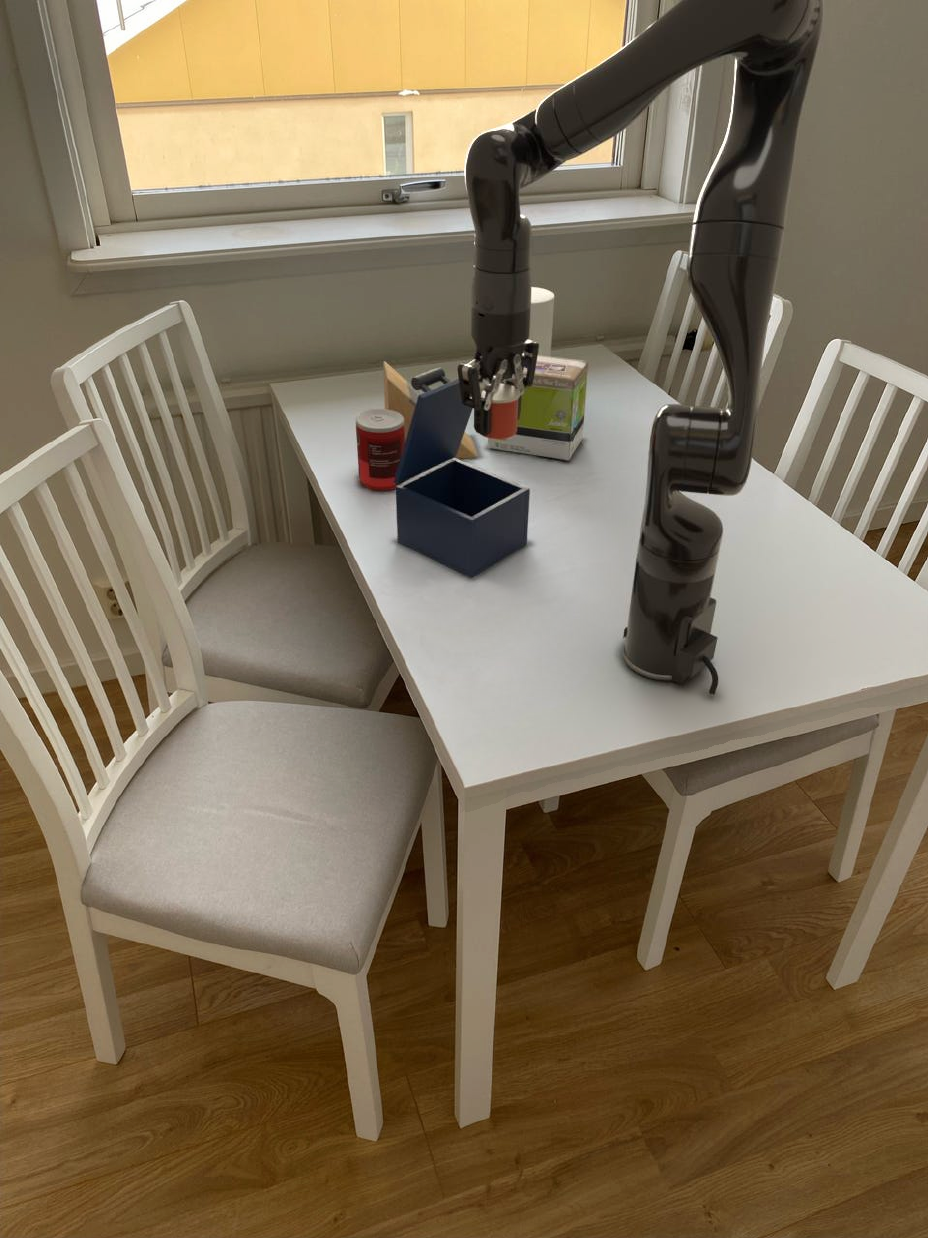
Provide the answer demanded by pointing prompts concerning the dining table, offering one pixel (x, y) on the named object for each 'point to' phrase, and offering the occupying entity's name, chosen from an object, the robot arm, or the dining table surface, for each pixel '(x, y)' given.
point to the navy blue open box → (462, 516)
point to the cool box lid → (433, 425)
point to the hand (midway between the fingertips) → (497, 425)
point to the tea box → (550, 410)
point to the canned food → (379, 447)
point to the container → (541, 319)
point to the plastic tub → (503, 412)
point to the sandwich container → (413, 406)
